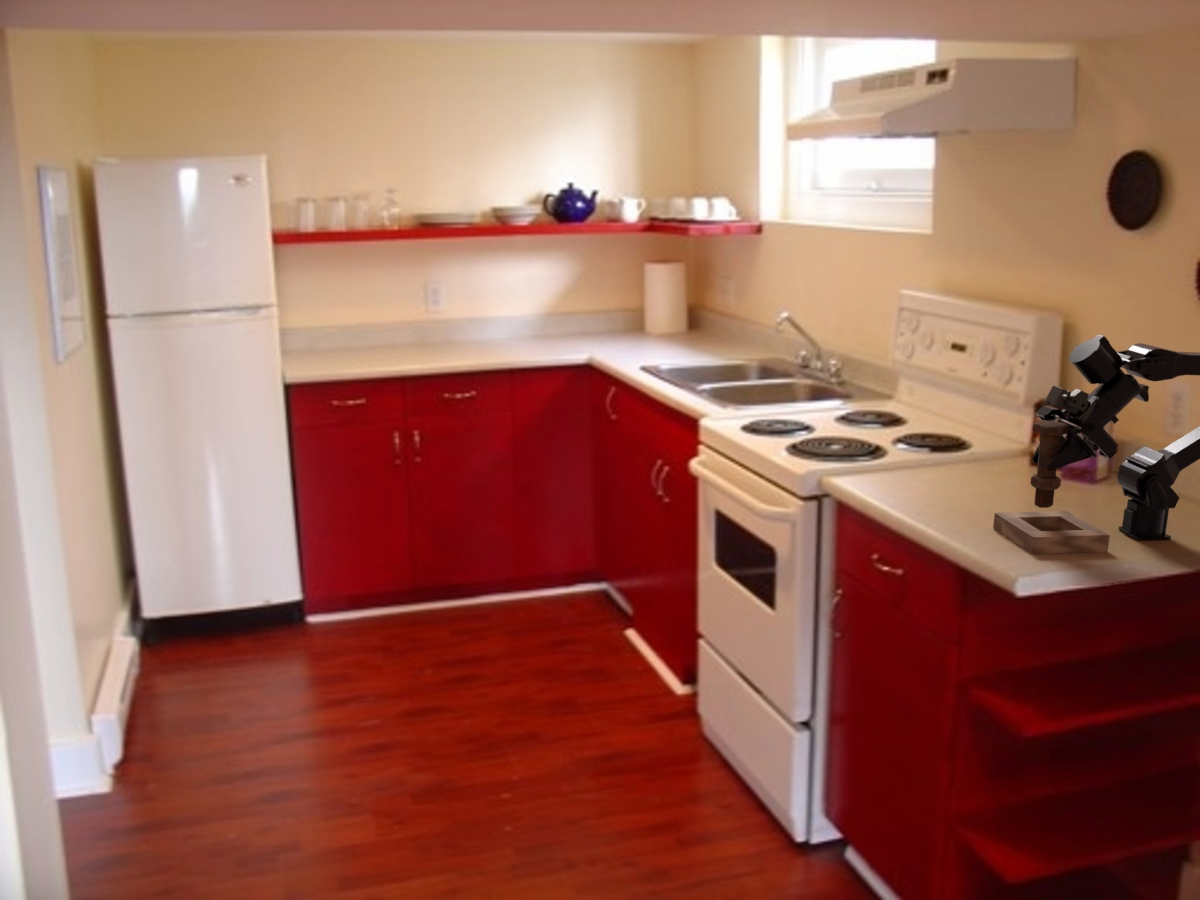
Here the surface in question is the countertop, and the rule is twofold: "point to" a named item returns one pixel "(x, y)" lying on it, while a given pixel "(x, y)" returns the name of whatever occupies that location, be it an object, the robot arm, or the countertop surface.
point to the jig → (1051, 532)
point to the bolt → (1047, 449)
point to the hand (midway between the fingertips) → (1040, 465)
